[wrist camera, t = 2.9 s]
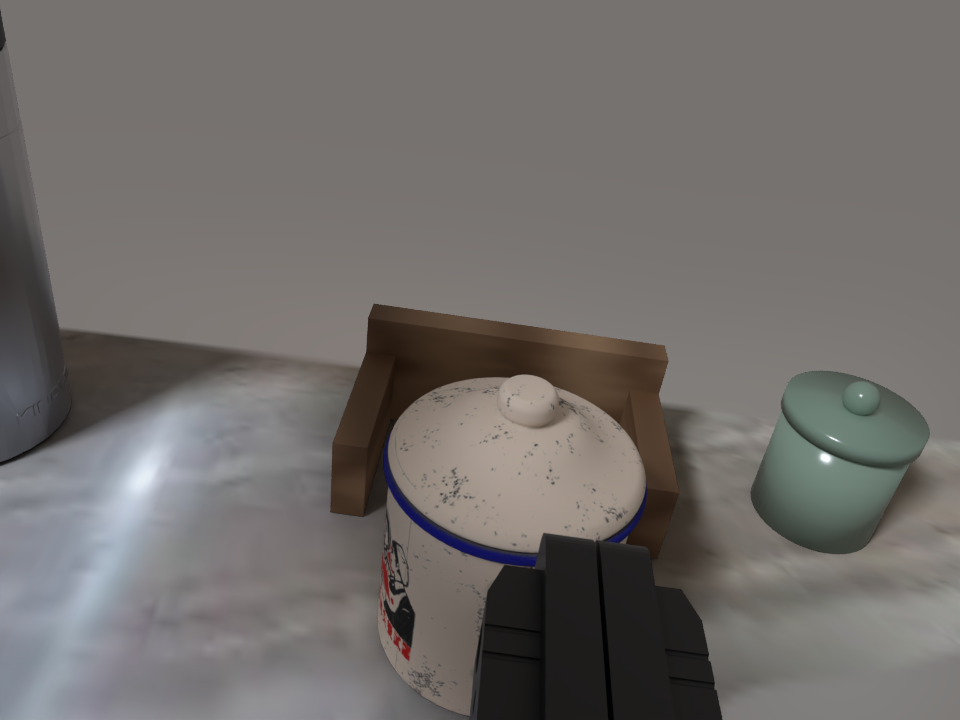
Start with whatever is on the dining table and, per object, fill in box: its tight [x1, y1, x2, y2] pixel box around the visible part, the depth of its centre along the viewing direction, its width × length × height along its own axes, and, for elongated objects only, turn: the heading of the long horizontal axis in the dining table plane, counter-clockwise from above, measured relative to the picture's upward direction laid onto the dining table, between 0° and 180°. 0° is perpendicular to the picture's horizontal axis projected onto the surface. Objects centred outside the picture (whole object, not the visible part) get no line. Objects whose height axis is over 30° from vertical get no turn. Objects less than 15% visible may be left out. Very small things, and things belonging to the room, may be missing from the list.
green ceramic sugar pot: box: [751, 371, 930, 554], centre depth 38 cm, size 6×6×8 cm
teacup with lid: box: [378, 375, 647, 716], centre depth 28 cm, size 12×9×12 cm
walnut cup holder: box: [330, 304, 679, 559], centre depth 38 cm, size 15×9×6 cm, turn 86°
